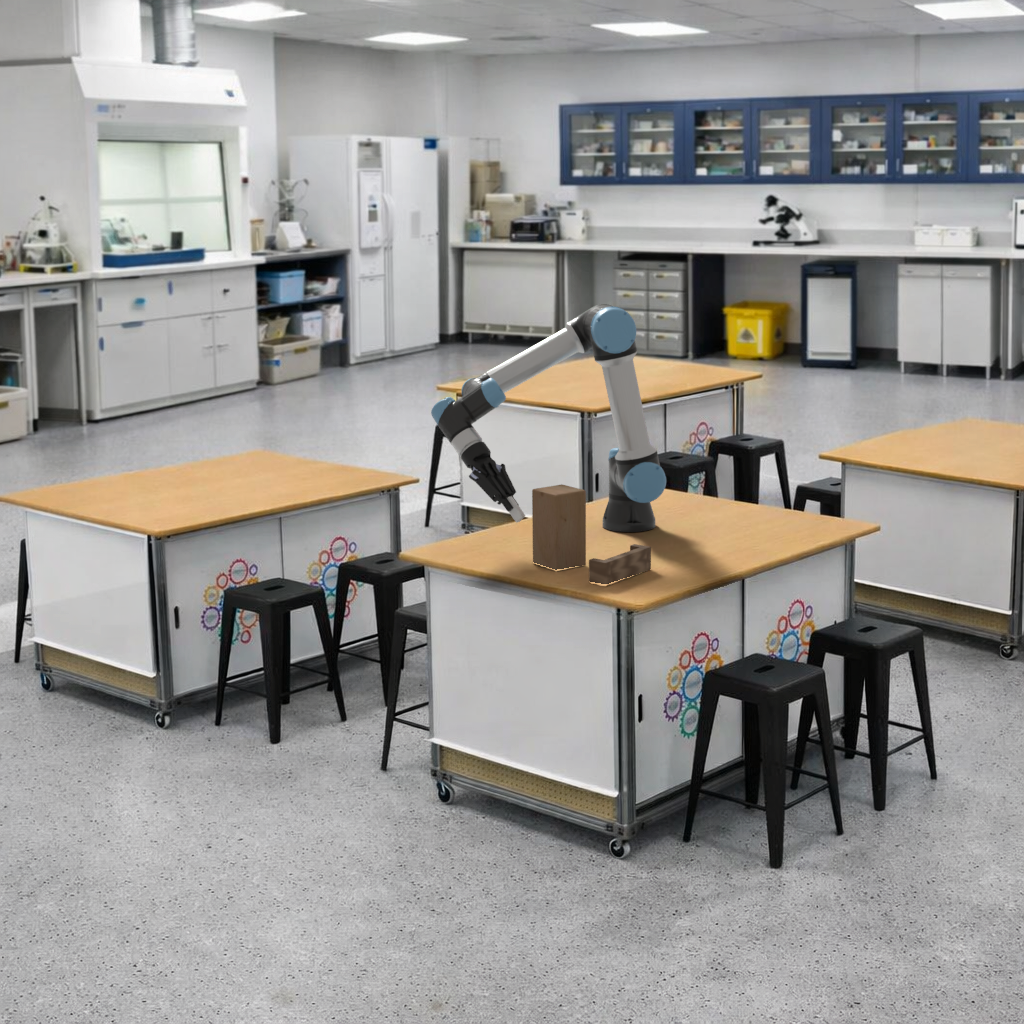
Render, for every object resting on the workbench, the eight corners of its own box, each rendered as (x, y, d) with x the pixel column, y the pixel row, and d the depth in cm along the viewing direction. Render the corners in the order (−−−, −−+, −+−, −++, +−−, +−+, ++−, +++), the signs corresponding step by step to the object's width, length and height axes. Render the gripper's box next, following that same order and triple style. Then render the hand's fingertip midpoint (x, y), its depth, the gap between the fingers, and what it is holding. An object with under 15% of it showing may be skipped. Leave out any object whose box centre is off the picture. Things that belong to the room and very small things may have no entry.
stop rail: (634, 566, 369) (634, 544, 368) (650, 569, 366) (651, 546, 364) (589, 583, 354) (589, 559, 352) (605, 586, 350) (605, 562, 349)
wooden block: (555, 572, 364) (555, 495, 360) (532, 564, 372) (531, 488, 368) (586, 566, 370) (586, 489, 366) (562, 558, 378) (562, 483, 374)
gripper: (479, 454, 390) (528, 523, 383) (448, 461, 380) (497, 532, 373) (494, 437, 385) (544, 506, 379) (463, 443, 375) (513, 514, 369)
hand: (520, 519), depth 376 cm, fingers closed
